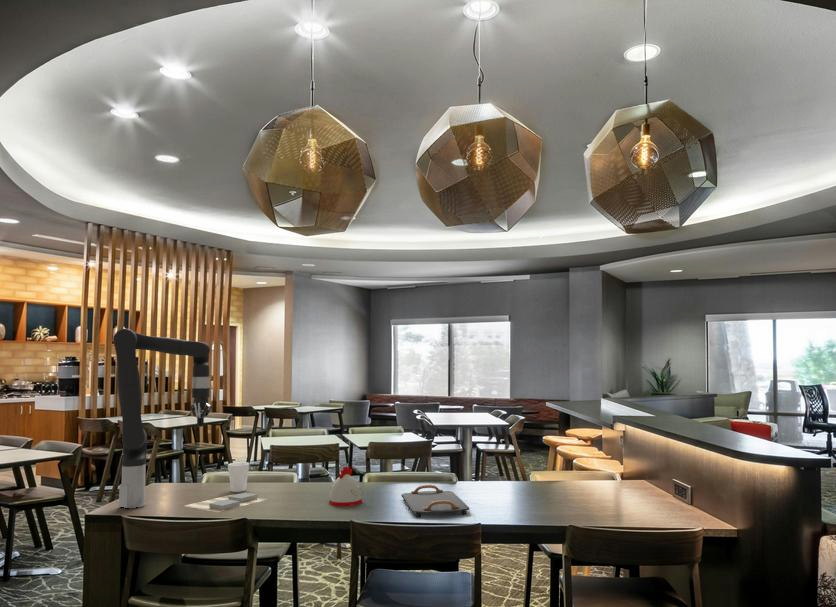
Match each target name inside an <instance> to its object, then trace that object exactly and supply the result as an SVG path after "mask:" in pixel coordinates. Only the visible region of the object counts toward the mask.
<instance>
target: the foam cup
mask: <svg viewBox="0 0 836 607" xmlns="http://www.w3.org/2000/svg"><path fill="white" fill-rule="evenodd" d="M249 469H250V462H247V461H246V462H245V461H238V462H230V463H228V464H227V470H228V478H229V485H230V486H229V487H230V491H231V492H234V493H236V492H237V493H238V492H239V493H240V492H241V493H242V492H244V491H246V490H247V485H248V475H249V471H250V470H249Z"/></svg>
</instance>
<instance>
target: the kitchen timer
mask: <svg viewBox="0 0 836 607" xmlns="http://www.w3.org/2000/svg"><path fill="white" fill-rule="evenodd" d="M352 473H353V468H351V466H343V467H342V470H340V473H338V477H337V478H336V480H335V481H334V482H333V485H331V486H330V492H329V496H328V497H329V498H328V504H329V505H331V506H333V507H352V506H357V505H360V504H362V502H363V496H362V490H361V488H362V487H361V486H359V483H358V482H357V481H356V479H355V478H354V477H353V476H352Z"/></svg>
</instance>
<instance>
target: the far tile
mask: <svg viewBox="0 0 836 607" xmlns="http://www.w3.org/2000/svg"><path fill="white" fill-rule="evenodd" d="M235 494H236V493H235ZM231 495H232V494H231ZM227 496H228V495H227ZM257 498H258V494H257V493H251V492H250V493H249V492H241V493H237V494H236V495H232V496H228V499H229V500H235V501H240V503H243V502H247V501H251V500H255V499H257Z"/></svg>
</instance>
